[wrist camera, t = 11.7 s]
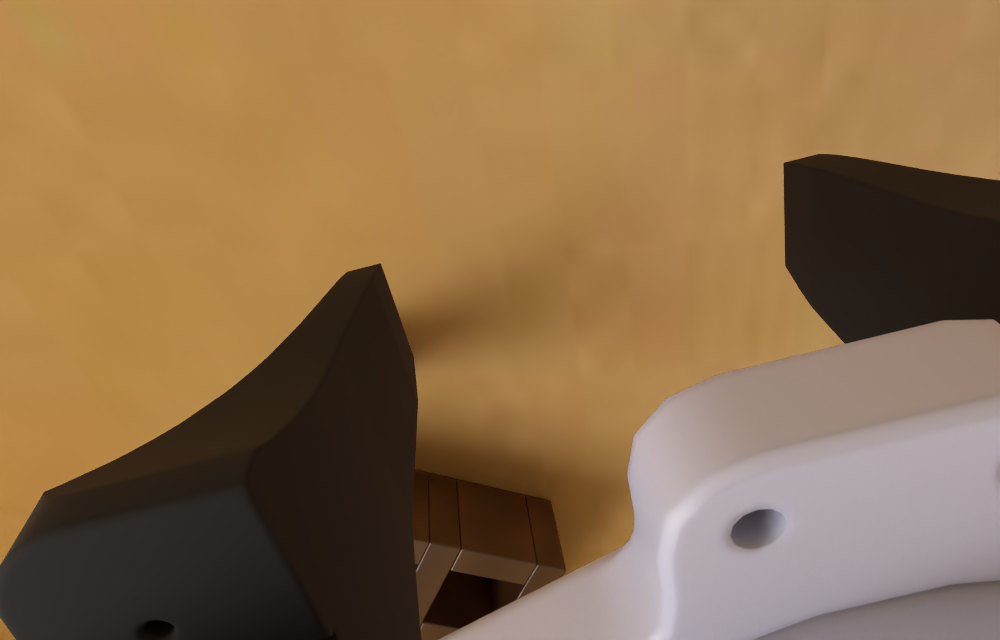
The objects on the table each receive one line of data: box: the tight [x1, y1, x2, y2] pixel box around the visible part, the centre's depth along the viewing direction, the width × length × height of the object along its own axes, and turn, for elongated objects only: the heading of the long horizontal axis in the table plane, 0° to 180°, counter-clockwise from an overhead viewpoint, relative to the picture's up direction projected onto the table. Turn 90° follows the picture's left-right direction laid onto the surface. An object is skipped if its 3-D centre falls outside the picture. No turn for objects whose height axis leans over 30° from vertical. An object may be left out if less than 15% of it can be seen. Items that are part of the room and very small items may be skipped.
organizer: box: [413, 470, 566, 640], centre depth 30 cm, size 10×14×4 cm
